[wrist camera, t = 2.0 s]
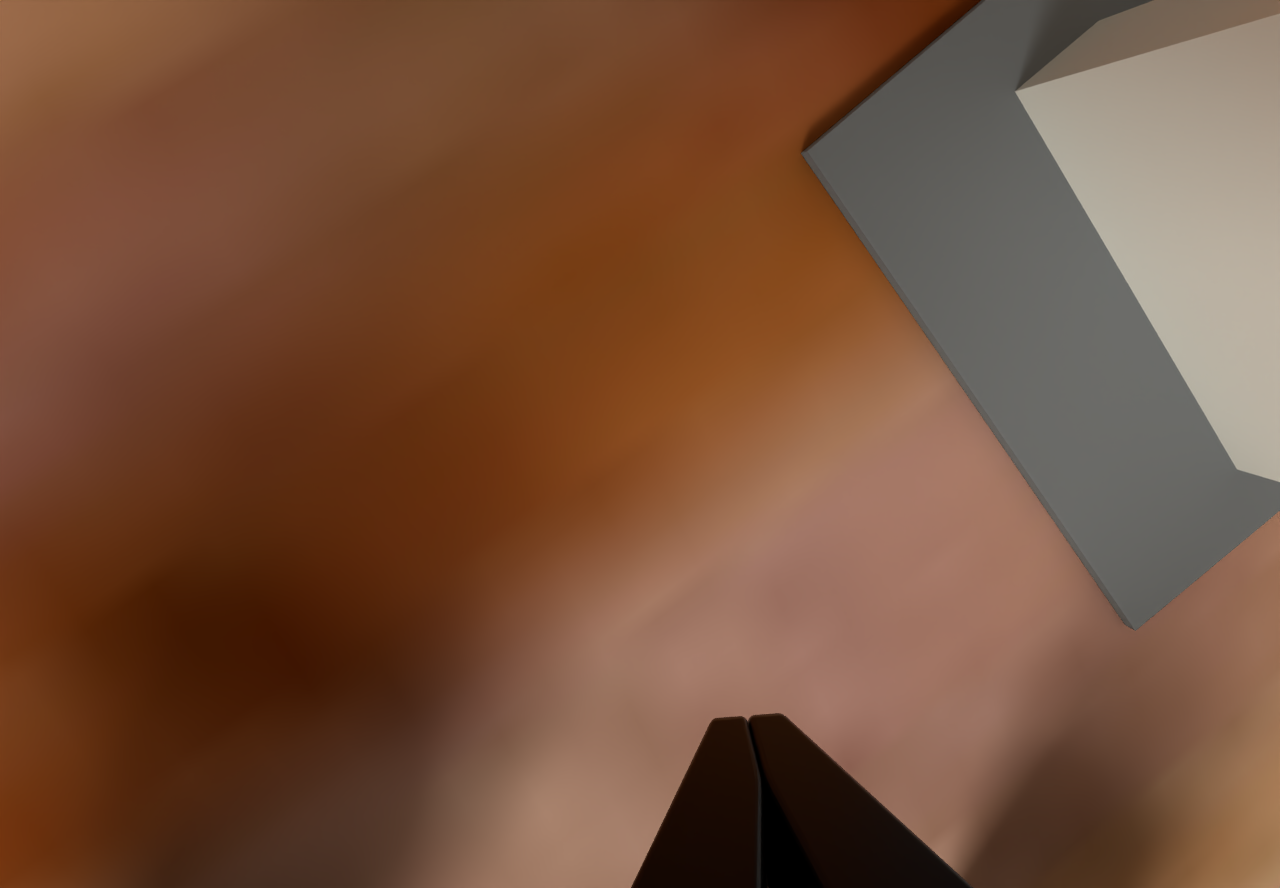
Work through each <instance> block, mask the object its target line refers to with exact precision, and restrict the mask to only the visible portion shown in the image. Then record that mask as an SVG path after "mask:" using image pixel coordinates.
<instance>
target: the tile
mask: <svg viewBox="0 0 1280 888" xmlns="http://www.w3.org/2000/svg"><path fill="white" fill-rule="evenodd" d="M1015 93H1016V94H1017V96H1018V98H1019V99H1020V101H1021V103H1022V104H1023V106H1024V108H1025V110H1026V111H1027V113H1028V115H1029V116H1030V118H1031V120H1032V121H1033V123H1034V125H1035V127H1036V128H1037V130H1038V132H1039V133H1040V135H1041V137H1042V139H1043V140H1044V142H1045V144H1046V145H1047V147H1048V149H1049V150H1050V152H1051V154H1052V156H1053V157H1054V159H1055V161H1056V162H1057V164H1058V166H1059V167H1060V169H1061V171H1062V173H1063V174H1064V176H1065V178H1066V179H1067V181H1068V183H1069V184H1070V186H1071V188H1072V190H1073V191H1074V193H1075V195H1076V196H1077V198H1078V200H1079V201H1080V203H1081V205H1082V207H1083V208H1084V210H1085V212H1086V213H1087V215H1088V217H1089V218H1090V220H1091V222H1092V224H1093V225H1094V227H1095V229H1096V230H1097V232H1098V234H1099V235H1100V237H1101V239H1102V241H1103V242H1104V244H1105V246H1106V247H1107V249H1108V251H1109V252H1110V254H1111V256H1112V258H1113V259H1114V261H1115V263H1116V264H1117V266H1118V268H1119V269H1120V271H1121V273H1122V275H1123V276H1124V278H1125V280H1126V281H1127V283H1128V285H1129V287H1130V288H1131V290H1132V292H1133V293H1134V295H1135V297H1136V298H1137V300H1138V302H1139V304H1140V305H1141V307H1142V309H1143V310H1144V312H1145V314H1146V315H1147V317H1148V319H1149V321H1150V322H1151V324H1152V326H1153V327H1154V329H1155V331H1156V332H1157V334H1158V336H1159V338H1160V339H1161V341H1162V343H1163V344H1164V346H1165V348H1166V349H1167V351H1168V353H1169V355H1170V356H1171V358H1172V360H1173V361H1174V363H1175V365H1176V366H1177V368H1178V370H1179V372H1180V373H1181V375H1182V377H1183V378H1184V380H1185V382H1186V383H1187V385H1188V387H1189V389H1190V390H1191V392H1192V394H1193V395H1194V397H1195V399H1196V400H1197V402H1198V404H1199V406H1200V407H1201V409H1202V411H1203V412H1204V414H1205V416H1206V417H1207V419H1208V421H1209V423H1210V424H1211V426H1212V428H1213V429H1214V431H1215V433H1216V435H1217V436H1218V438H1219V440H1220V441H1221V443H1222V445H1223V446H1224V448H1225V450H1226V452H1227V453H1228V455H1229V457H1230V458H1231V460H1232V462H1233V463H1234V465H1235V467H1236V469H1237V470H1241V471H1244V472H1248V473H1251V474H1254V475H1258V476H1261V477H1264V478H1268V479H1271V480H1275V481H1278V482H1280V0H1153V1H1150V2H1148V3H1145V4H1142V5H1140V6H1137V7H1134V8H1131V9H1129V10H1126V11H1123V12H1121V13H1118V14H1115V15H1113V16H1110V17H1107V18H1104V19H1102V20H1099V21H1098V22H1096V23H1095V24H1094V25H1093V26H1092V27H1091V28H1089V29H1088V30H1087V31H1086V32H1085V33H1083V34H1082V35H1081V36H1080V37H1079V38H1078V39H1076V40H1075V41H1074V42H1073V43H1072V44H1070V45H1069V46H1068V47H1067V48H1066V49H1065V50H1063V51H1062V52H1061V53H1060V54H1059V55H1057V56H1056V57H1055V58H1054V59H1053V60H1052V61H1050V62H1049V63H1048V64H1047V65H1046V66H1044V67H1043V68H1042V69H1041V70H1040V71H1038V72H1037V73H1036V74H1035V75H1034V76H1033V77H1031V78H1030V79H1029V80H1028V81H1027V82H1025V83H1024V84H1023V85H1022V86H1021V87H1020V88H1018V89H1017V90H1016V91H1015Z"/></svg>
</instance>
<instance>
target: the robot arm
mask: <svg viewBox="0 0 1280 888" xmlns="http://www.w3.org/2000/svg"><path fill="white" fill-rule="evenodd" d="M631 888H973V887H972V886H971V885H970V884H969V883H967V882H966V881H965V880H964V879H963V878H962V877H961V876H960V875H959V874H958V873H957V872H955V871H954V870H953V869H952V868H951V867H950V866H949V865H948V864H947V863H946V862H944V861H943V860H942V859H941V858H940V857H939V856H938V855H937V854H936V853H935V852H934V851H932V850H931V849H930V848H929V847H928V846H927V845H926V844H925V843H924V842H923V841H922V840H920V839H919V838H918V837H917V836H916V835H915V834H914V833H913V832H912V831H911V830H909V829H908V828H907V827H906V826H905V825H904V824H903V823H902V822H901V821H900V820H899V819H897V818H896V817H895V816H894V815H893V814H892V813H891V812H890V811H889V810H888V809H887V808H885V807H884V806H883V805H882V804H881V803H880V802H879V801H878V800H877V799H876V798H874V797H873V796H872V795H871V794H870V793H869V792H868V791H867V790H866V789H865V788H864V787H862V786H861V785H860V784H859V783H858V782H857V781H856V780H855V779H854V778H853V777H852V776H850V775H849V774H848V773H847V772H846V771H845V770H844V769H843V768H842V767H841V766H839V765H838V764H837V763H836V762H835V761H834V760H833V759H832V758H831V757H830V756H829V755H827V754H826V753H825V752H824V751H823V750H822V749H821V748H820V747H819V746H818V745H817V744H815V743H814V742H813V741H812V740H811V739H810V738H809V737H808V736H807V735H806V734H804V733H803V732H802V731H801V730H800V729H799V728H798V727H797V726H796V725H795V724H794V723H792V722H791V721H790V720H789V719H788V718H787V717H786V716H784V715H783V714H780V713H775V714H762V715H753V716H751V717H750V718H749V720H748V721H747V720H746V718H744V717H742V716H737V717H724V718H715V719H713V720H712V721H711V723H710V724H709V726H708V728H707V730H706V733H705V735H704V737H703V739H702V741H701V743H700V745H699V747H698V749H697V751H696V753H695V755H694V758H693V760H692V762H691V764H690V766H689V768H688V770H687V772H686V774H685V776H684V778H683V780H682V783H681V785H680V787H679V789H678V791H677V793H676V795H675V797H674V799H673V801H672V803H671V805H670V808H669V810H668V812H667V814H666V816H665V818H664V820H663V822H662V824H661V826H660V828H659V831H658V833H657V835H656V837H655V839H654V841H653V843H652V845H651V847H650V849H649V851H648V853H647V856H646V858H645V860H644V862H643V864H642V866H641V868H640V870H639V872H638V874H637V876H636V878H635V881H634V883H633V885H632V887H631Z"/></svg>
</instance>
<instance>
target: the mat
mask: <svg viewBox="0 0 1280 888" xmlns="http://www.w3.org/2000/svg"><path fill="white" fill-rule="evenodd" d="M1150 1H1153V0H981V1H980V2H979V3H978V4H977V5H975V6H974V7H973V8H972V9H971V10H969V11H968V12H967V13H966V14H965V15H964V16H962V17H961V18H960V19H959V20H958V21H956V22H955V23H954V24H953V25H952V26H951V27H949V28H948V29H947V30H946V31H945V32H943V33H942V34H941V35H940V36H939V37H938V38H936V39H935V40H934V41H933V42H932V43H930V44H929V45H928V46H927V47H926V48H925V49H923V50H922V51H921V52H920V53H919V54H917V55H916V56H915V57H914V58H913V59H912V60H910V61H909V62H908V63H907V64H906V65H904V66H903V67H902V68H901V69H900V70H899V71H897V72H896V73H895V74H894V75H893V76H891V77H890V78H889V79H888V80H887V81H886V82H884V83H883V84H882V85H881V86H880V87H878V88H877V89H876V90H875V91H874V92H873V93H871V94H870V95H869V96H868V97H867V98H865V99H864V100H863V101H862V102H861V103H860V104H858V105H857V106H856V107H855V108H854V109H852V110H851V111H850V112H849V113H848V114H847V115H845V116H844V117H843V118H842V119H841V120H839V121H838V122H837V123H836V124H835V125H834V126H832V127H831V128H830V129H829V130H828V131H827V132H825V133H824V134H823V135H822V136H821V137H819V138H818V139H817V140H816V141H815V142H814V143H812V144H811V145H810V146H809V147H808V148H806V149H805V150H804V151H803V152H802V153H801V154H802V156H803V157H804V158H805V160H806V161H807V163H808V164H809V166H810V167H811V169H812V170H813V172H814V173H815V174H816V176H817V177H818V179H819V180H820V182H821V183H822V185H823V186H824V188H825V189H826V190H827V192H828V193H829V195H830V196H831V198H832V199H833V201H834V202H835V204H836V205H837V206H838V208H839V209H840V211H841V212H842V214H843V215H844V217H845V218H846V220H847V221H848V222H849V224H850V225H851V227H852V228H853V230H854V231H855V233H856V234H857V236H858V237H859V238H860V240H861V241H862V243H863V244H864V246H865V247H866V249H867V250H868V252H869V253H870V254H871V256H872V257H873V259H874V260H875V262H876V263H877V265H878V266H879V268H880V269H881V270H882V272H883V273H884V275H885V276H886V278H887V279H888V281H889V282H890V284H891V285H892V286H893V288H894V289H895V291H896V292H897V294H898V295H899V297H900V298H901V300H902V301H903V302H904V304H905V305H906V307H907V308H908V310H909V311H910V313H911V314H912V316H913V317H914V318H915V320H916V321H917V323H918V324H919V326H920V327H921V329H922V330H923V332H924V333H925V334H926V336H927V337H928V339H929V340H930V342H931V343H932V345H933V346H934V348H935V349H936V350H937V352H938V353H939V355H940V356H941V358H942V359H943V361H944V362H945V364H946V365H947V366H948V368H949V369H950V371H951V372H952V374H953V375H954V377H955V378H956V380H957V381H958V382H959V384H960V385H961V387H962V388H963V390H964V391H965V393H966V394H967V396H968V397H969V398H970V400H971V401H972V403H973V404H974V406H975V407H976V409H977V410H978V412H979V413H980V414H981V416H982V417H983V419H984V420H985V422H986V423H987V425H988V426H989V428H990V429H991V430H992V432H993V433H994V435H995V436H996V438H997V439H998V441H999V442H1000V444H1001V445H1002V446H1003V448H1004V449H1005V451H1006V452H1007V454H1008V455H1009V457H1010V458H1011V460H1012V461H1013V462H1014V464H1015V465H1016V467H1017V468H1018V470H1019V471H1020V473H1021V474H1022V476H1023V477H1024V478H1025V480H1026V481H1027V483H1028V484H1029V486H1030V487H1031V489H1032V490H1033V492H1034V493H1035V494H1036V496H1037V497H1038V499H1039V500H1040V502H1041V503H1042V505H1043V506H1044V508H1045V509H1046V510H1047V512H1048V513H1049V515H1050V516H1051V518H1052V519H1053V521H1054V522H1055V524H1056V525H1057V526H1058V528H1059V529H1060V531H1061V532H1062V534H1063V535H1064V537H1065V538H1066V540H1067V541H1068V542H1069V544H1070V545H1071V547H1072V548H1073V550H1074V551H1075V553H1076V554H1077V556H1078V557H1079V558H1080V560H1081V561H1082V563H1083V564H1084V566H1085V567H1086V569H1087V570H1088V572H1089V573H1090V574H1091V576H1092V577H1093V579H1094V580H1095V582H1096V583H1097V585H1098V586H1099V588H1100V589H1101V590H1102V592H1103V593H1104V595H1105V596H1106V598H1107V599H1108V601H1109V602H1110V604H1111V605H1112V606H1113V608H1114V609H1115V611H1116V612H1117V614H1118V615H1119V617H1120V618H1121V620H1122V621H1123V622H1124V624H1125V625H1126V626H1128V627H1130V628H1132V629H1133V630H1135V631H1136V630H1137V629H1138V628H1139V627H1141V626H1142V625H1143V624H1144V623H1145V622H1147V621H1148V620H1149V619H1150V618H1151V617H1153V616H1154V615H1155V614H1156V613H1157V612H1159V611H1160V610H1161V609H1162V608H1163V607H1165V606H1166V605H1167V604H1168V603H1169V602H1171V601H1172V600H1173V599H1174V598H1175V597H1177V596H1178V595H1179V594H1180V593H1181V592H1183V591H1184V590H1185V589H1186V588H1187V587H1189V586H1190V585H1191V584H1192V583H1193V582H1195V581H1196V580H1197V579H1198V578H1199V577H1201V576H1202V575H1203V574H1204V573H1205V572H1207V571H1208V570H1209V569H1210V568H1211V567H1213V566H1214V565H1215V564H1216V563H1217V562H1219V561H1220V560H1221V559H1222V558H1223V557H1225V556H1226V555H1227V554H1228V553H1229V552H1231V551H1232V550H1233V549H1234V548H1235V547H1237V546H1238V545H1239V544H1240V543H1241V542H1243V541H1244V540H1245V539H1246V538H1247V537H1249V536H1250V535H1251V534H1252V533H1253V532H1255V531H1256V530H1257V529H1258V528H1259V527H1261V526H1262V525H1263V524H1264V523H1265V522H1267V521H1268V520H1269V519H1270V518H1271V517H1273V516H1274V515H1275V514H1276V513H1277V512H1279V511H1280V482H1278V481H1275V480H1271V479H1268V478H1264V477H1261V476H1258V475H1254V474H1251V473H1248V472H1244V471H1241V470H1237V469H1236V467H1235V465H1234V463H1233V462H1232V460H1231V458H1230V457H1229V455H1228V453H1227V452H1226V450H1225V448H1224V446H1223V445H1222V443H1221V441H1220V440H1219V438H1218V436H1217V435H1216V433H1215V431H1214V429H1213V428H1212V426H1211V424H1210V423H1209V421H1208V419H1207V417H1206V416H1205V414H1204V412H1203V411H1202V409H1201V407H1200V406H1199V404H1198V402H1197V400H1196V399H1195V397H1194V395H1193V394H1192V392H1191V390H1190V389H1189V387H1188V385H1187V383H1186V382H1185V380H1184V378H1183V377H1182V375H1181V373H1180V372H1179V370H1178V368H1177V366H1176V365H1175V363H1174V361H1173V360H1172V358H1171V356H1170V355H1169V353H1168V351H1167V349H1166V348H1165V346H1164V344H1163V343H1162V341H1161V339H1160V338H1159V336H1158V334H1157V332H1156V331H1155V329H1154V327H1153V326H1152V324H1151V322H1150V321H1149V319H1148V317H1147V315H1146V314H1145V312H1144V310H1143V309H1142V307H1141V305H1140V304H1139V302H1138V300H1137V298H1136V297H1135V295H1134V293H1133V292H1132V290H1131V288H1130V287H1129V285H1128V283H1127V281H1126V280H1125V278H1124V276H1123V275H1122V273H1121V271H1120V269H1119V268H1118V266H1117V264H1116V263H1115V261H1114V259H1113V258H1112V256H1111V254H1110V252H1109V251H1108V249H1107V247H1106V246H1105V244H1104V242H1103V241H1102V239H1101V237H1100V235H1099V234H1098V232H1097V230H1096V229H1095V227H1094V225H1093V224H1092V222H1091V220H1090V218H1089V217H1088V215H1087V213H1086V212H1085V210H1084V208H1083V207H1082V205H1081V203H1080V201H1079V200H1078V198H1077V196H1076V195H1075V193H1074V191H1073V190H1072V188H1071V186H1070V184H1069V183H1068V181H1067V179H1066V178H1065V176H1064V174H1063V173H1062V171H1061V169H1060V167H1059V166H1058V164H1057V162H1056V161H1055V159H1054V157H1053V156H1052V154H1051V152H1050V150H1049V149H1048V147H1047V145H1046V144H1045V142H1044V140H1043V139H1042V137H1041V135H1040V133H1039V132H1038V130H1037V128H1036V127H1035V125H1034V123H1033V121H1032V120H1031V118H1030V116H1029V115H1028V113H1027V111H1026V110H1025V108H1024V106H1023V104H1022V103H1021V101H1020V99H1019V98H1018V96H1017V94H1016V93H1015V91H1016V90H1017V89H1018V88H1020V87H1021V86H1022V85H1023V84H1024V83H1025V82H1027V81H1028V80H1029V79H1030V78H1031V77H1033V76H1034V75H1035V74H1036V73H1037V72H1038V71H1040V70H1041V69H1042V68H1043V67H1044V66H1046V65H1047V64H1048V63H1049V62H1050V61H1052V60H1053V59H1054V58H1055V57H1056V56H1057V55H1059V54H1060V53H1061V52H1062V51H1063V50H1065V49H1066V48H1067V47H1068V46H1069V45H1070V44H1072V43H1073V42H1074V41H1075V40H1076V39H1078V38H1079V37H1080V36H1081V35H1082V34H1083V33H1085V32H1086V31H1087V30H1088V29H1089V28H1091V27H1092V26H1093V25H1094V24H1095V23H1096V22H1098V21H1099V20H1102V19H1104V18H1107V17H1110V16H1113V15H1115V14H1118V13H1121V12H1123V11H1126V10H1129V9H1131V8H1134V7H1137V6H1140V5H1142V4H1145V3H1148V2H1150Z"/></svg>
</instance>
